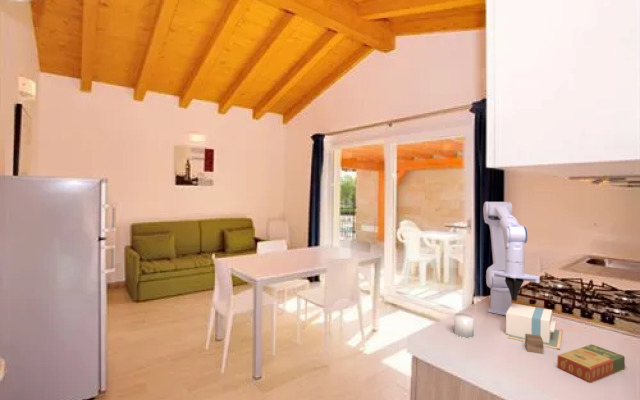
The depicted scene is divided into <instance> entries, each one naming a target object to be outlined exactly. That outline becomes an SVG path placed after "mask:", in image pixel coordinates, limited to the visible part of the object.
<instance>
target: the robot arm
mask: <svg viewBox="0 0 640 400" xmlns="http://www.w3.org/2000/svg"><path fill="white" fill-rule="evenodd" d="M482 211H483V213H482V214H483V220H484V223H485V224H487V225H488V226H489V231H490V241H491V252H492V253H491V254H492V264H491V265H490V266H488V267H487V269H486V274H485V279H486V280H485V281H486V283H485V284H486V286H487V287H488V288H489V289H490V302H489V303H490V306H489V308H488V310H487V313H490V314H496V315H500V316H506V313H507V311H508V309H509V308H510V306H511V304H512V301H513V302H517V300H518V296H519V292H520V289H521V287H522V286H523V285H524V282H525V281H526V282H531V283H536V284H540V282H541V276H540V275H534V274H528V273H525V264H526V263H525V259H526V258H525V254H526V251H525V249H526V243H528V239H529V231H528V228H527V226H526V225H521V224H520V223H519V221H518V219H517V218H516V217H515V216H513V204H512V202H511V201H485V202H484V203H483V210H482Z"/></svg>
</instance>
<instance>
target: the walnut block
mask: <svg viewBox="0 0 640 400" xmlns="http://www.w3.org/2000/svg"><path fill="white" fill-rule="evenodd" d="M524 347H525V350H526V351H527V352H529V353H533V354H540V355H543V354H544V346H543V340H542V338H541V336H539V335H532V334H525V342H524Z"/></svg>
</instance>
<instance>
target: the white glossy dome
mask: <svg viewBox="0 0 640 400" xmlns="http://www.w3.org/2000/svg"><path fill="white" fill-rule="evenodd" d="M474 320H475V317H474V316H473V315H472V314H468V313H464V312H463V313H461V312H460V313H459V312H458V313H455V314H454V323H453V325H454V327H453V330H454V331H453V333H455V334H456V335H455V334H454V335H455V336H457V335H458V336H457V337H459V336H461V337H460V338H462V337H467V338H466V339H470V338H469V337H472V338H474V336H475V335H474V331H475V329H474V327H475V323H474V322H475V321H474Z"/></svg>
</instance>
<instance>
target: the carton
mask: <svg viewBox="0 0 640 400" xmlns="http://www.w3.org/2000/svg"><path fill="white" fill-rule="evenodd" d="M556 361H557V363H556V367H557V368H556V369H558V370H560V371H563V372H565V373H567V374H569V375H572V376H574V377H575V378H577V379H580V380H582V381H584V382H586V383H589V384H593V383H594V382H597V381H599V380H602V379H605V378H607V377H609V376H612V375H615V374H617V373H620V372H622V370H623V371H625V370H626V357H625V355H623V354H620V353H618V352H614V351H613V350H608V349H606V348H603V347H600V346H597V345H596V344H587V345H585V346H582V347H579V348H575V349H573V350H572V349H571V350H570V351H566V352H563V353H561V354H558V355H557V360H556Z"/></svg>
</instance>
